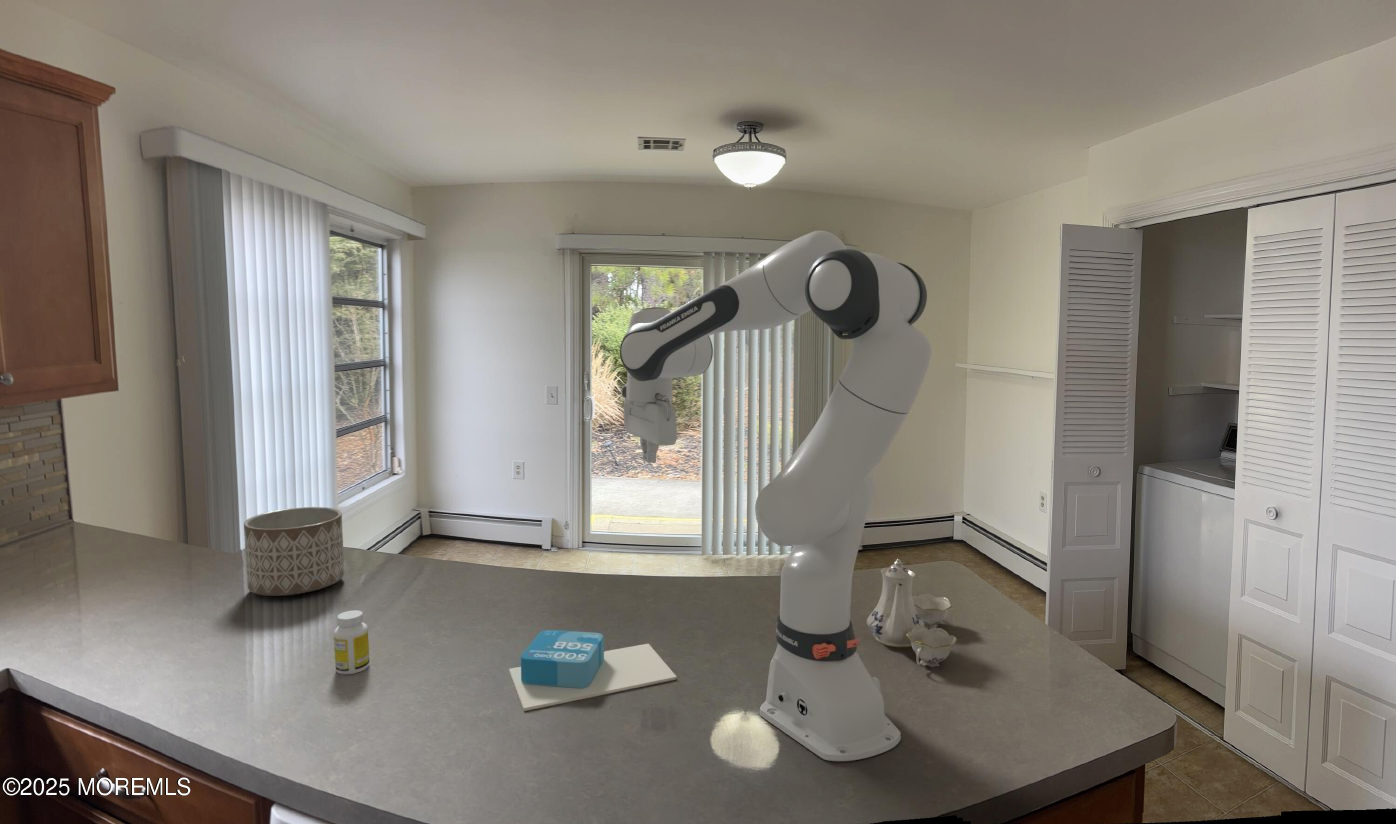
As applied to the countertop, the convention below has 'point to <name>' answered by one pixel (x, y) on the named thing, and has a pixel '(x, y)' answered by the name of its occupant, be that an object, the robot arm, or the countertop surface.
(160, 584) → the countertop surface
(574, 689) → the mat
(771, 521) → the robot arm
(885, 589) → the chinaware
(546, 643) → the data package
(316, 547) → the planter
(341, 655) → the supplement bottle
